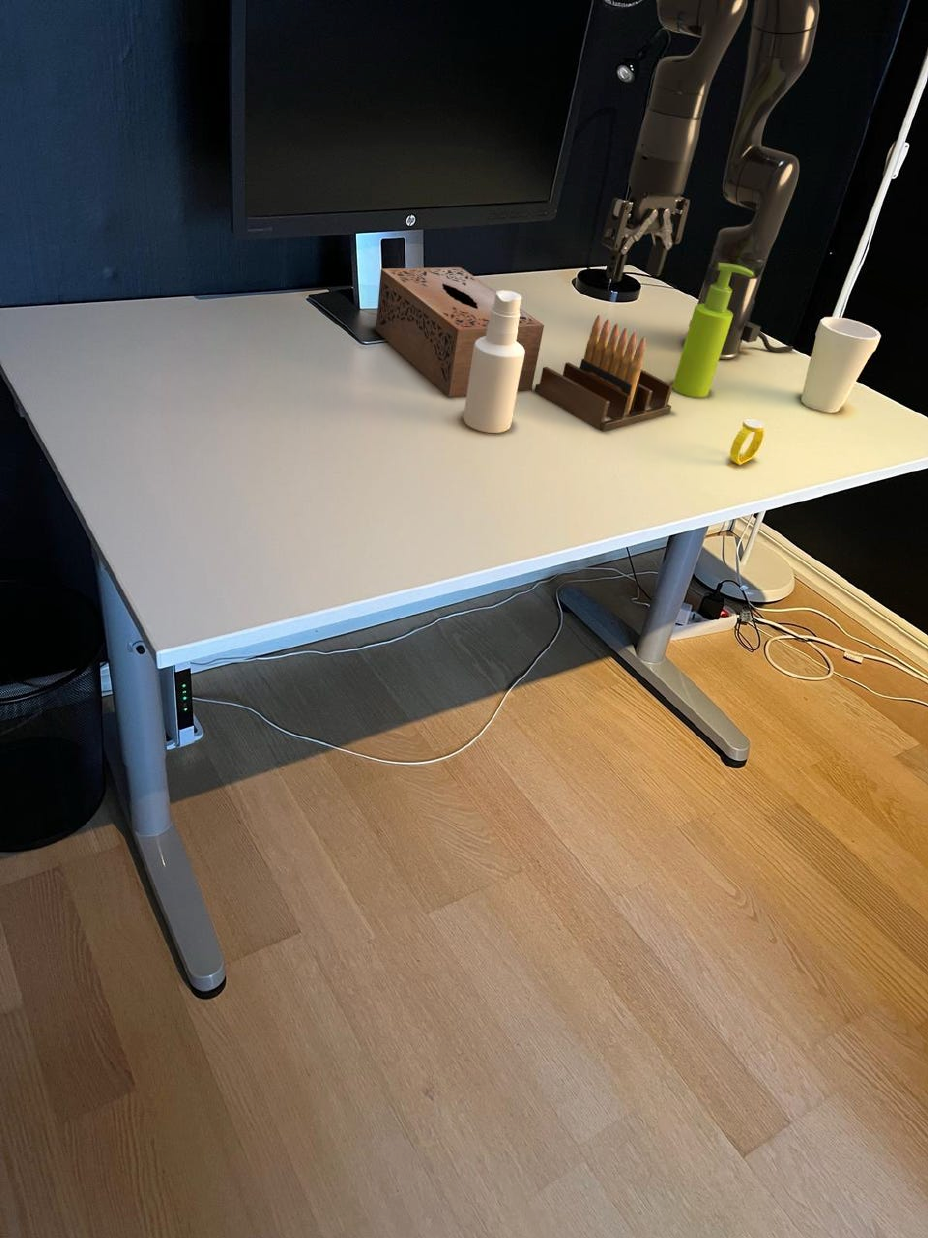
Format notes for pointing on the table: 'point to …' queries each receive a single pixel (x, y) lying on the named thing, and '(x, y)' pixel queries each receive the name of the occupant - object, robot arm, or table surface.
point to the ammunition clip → (614, 359)
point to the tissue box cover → (445, 323)
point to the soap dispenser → (706, 336)
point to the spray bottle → (496, 368)
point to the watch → (747, 429)
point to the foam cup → (837, 361)
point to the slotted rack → (603, 397)
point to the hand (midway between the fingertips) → (632, 276)
